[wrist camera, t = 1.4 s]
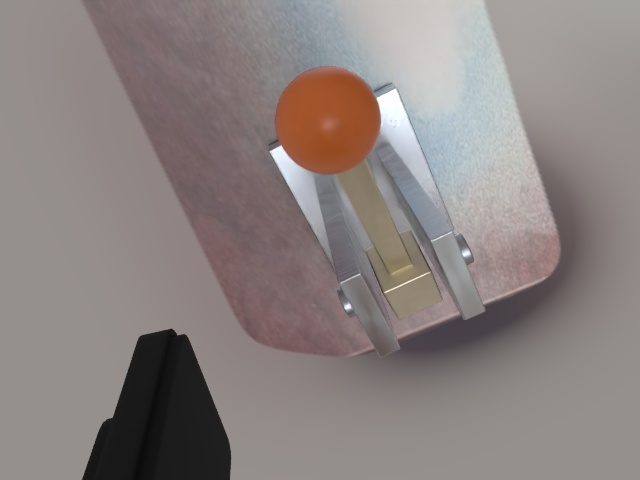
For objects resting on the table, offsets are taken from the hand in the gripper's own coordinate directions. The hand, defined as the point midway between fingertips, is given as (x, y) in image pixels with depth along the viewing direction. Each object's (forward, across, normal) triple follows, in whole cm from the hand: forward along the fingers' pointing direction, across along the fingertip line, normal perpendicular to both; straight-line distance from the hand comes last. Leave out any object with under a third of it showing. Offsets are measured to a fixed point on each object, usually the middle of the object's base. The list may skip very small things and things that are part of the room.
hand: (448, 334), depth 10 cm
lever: (+12, 0, +2) cm, 12 cm away
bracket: (+24, -1, +7) cm, 25 cm away
